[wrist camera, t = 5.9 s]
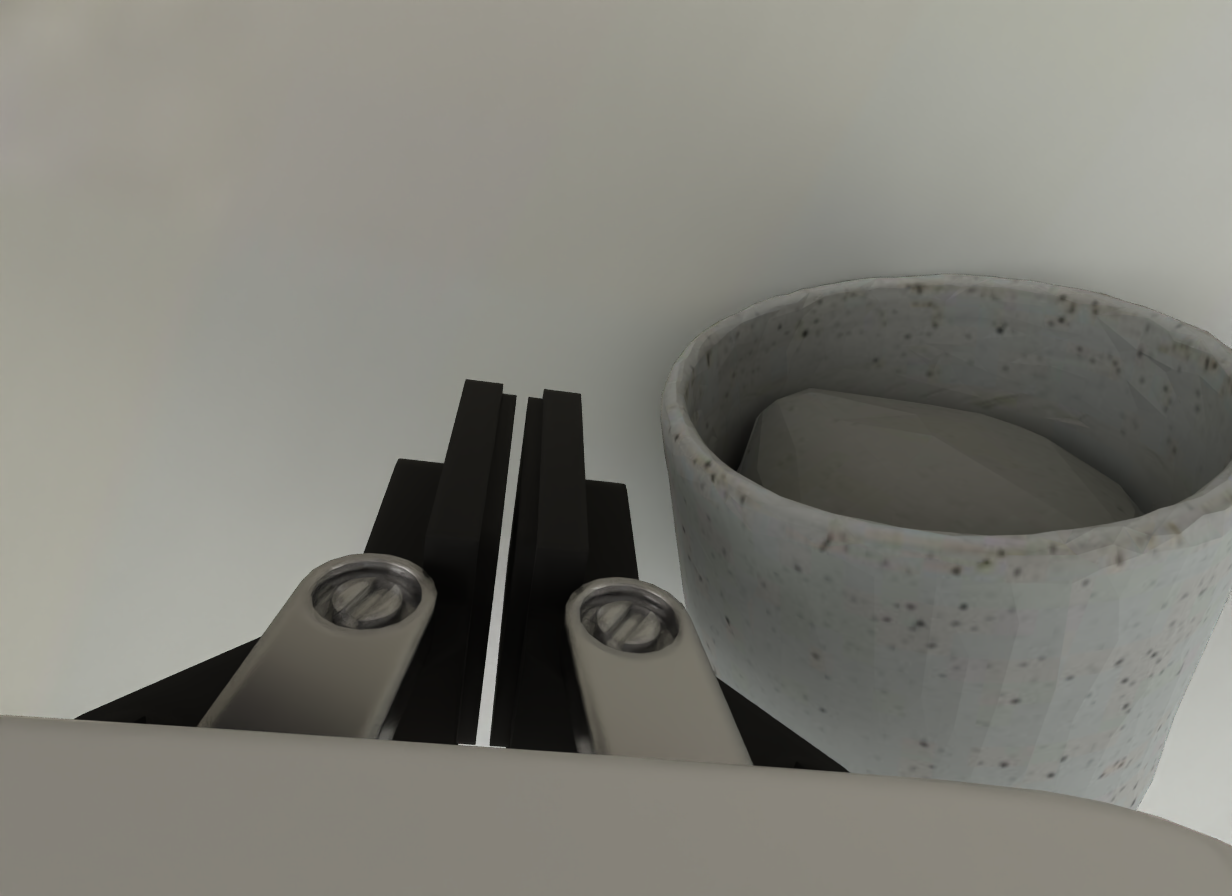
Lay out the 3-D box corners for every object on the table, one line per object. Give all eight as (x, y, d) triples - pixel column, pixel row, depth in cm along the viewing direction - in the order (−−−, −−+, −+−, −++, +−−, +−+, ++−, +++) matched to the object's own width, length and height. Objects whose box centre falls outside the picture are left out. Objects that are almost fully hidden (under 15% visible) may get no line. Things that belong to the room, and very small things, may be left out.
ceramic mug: (679, 656, 18) (762, 1037, 11) (631, 309, 14) (712, 575, 7) (1145, 578, 18) (1502, 912, 11) (1224, 211, 14) (1837, 388, 8)
